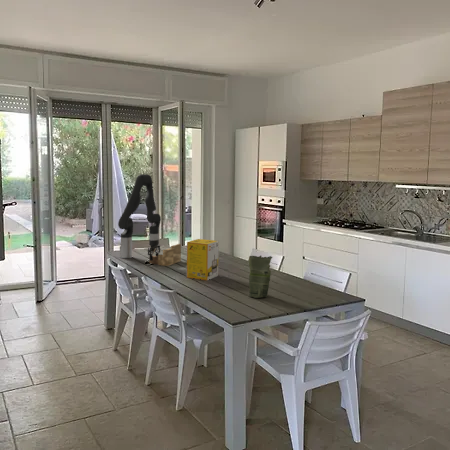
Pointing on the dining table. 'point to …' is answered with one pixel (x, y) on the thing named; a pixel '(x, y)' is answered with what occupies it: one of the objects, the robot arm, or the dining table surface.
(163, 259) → the light wood notched block
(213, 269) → the packaging box
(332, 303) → the dining table surface
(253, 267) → the green vase
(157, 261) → the brown rectangular block
